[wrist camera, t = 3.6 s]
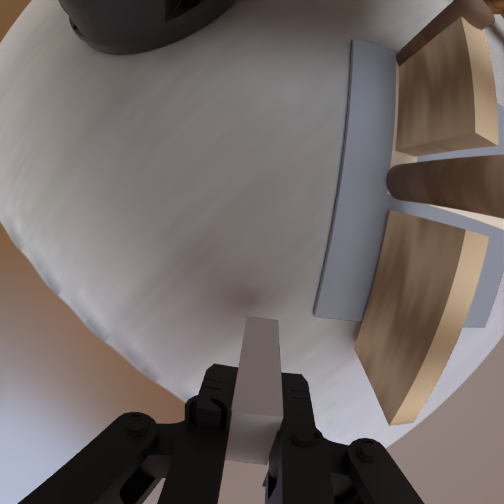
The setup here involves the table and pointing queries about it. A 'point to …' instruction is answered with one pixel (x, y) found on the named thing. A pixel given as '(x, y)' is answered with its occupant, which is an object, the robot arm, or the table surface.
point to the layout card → (388, 195)
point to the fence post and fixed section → (449, 114)
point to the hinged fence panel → (417, 309)
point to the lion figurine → (496, 6)
